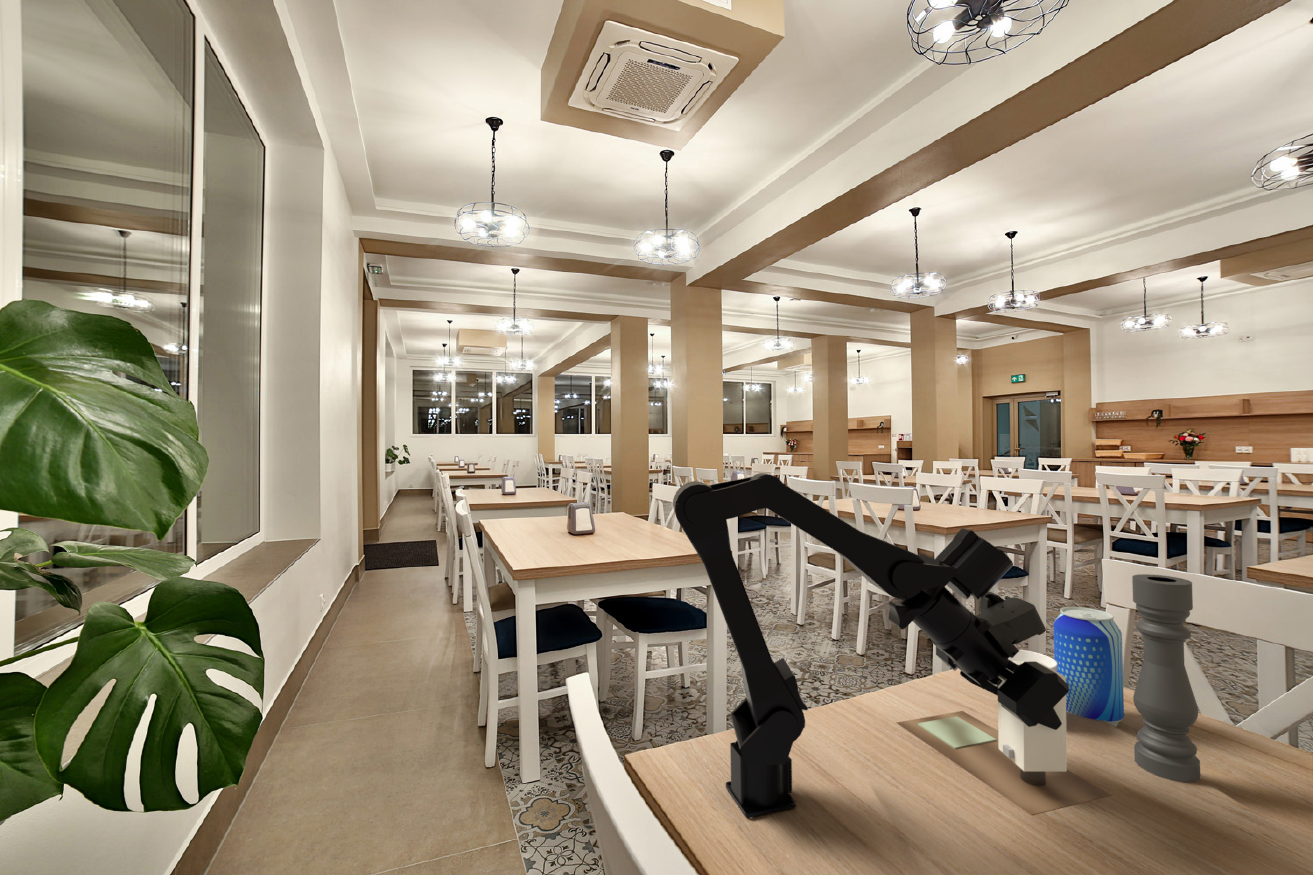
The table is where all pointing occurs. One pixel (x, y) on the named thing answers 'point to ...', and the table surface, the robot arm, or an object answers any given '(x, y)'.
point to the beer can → (1090, 663)
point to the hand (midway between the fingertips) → (1042, 715)
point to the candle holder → (1165, 679)
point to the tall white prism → (1033, 738)
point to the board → (1000, 764)
